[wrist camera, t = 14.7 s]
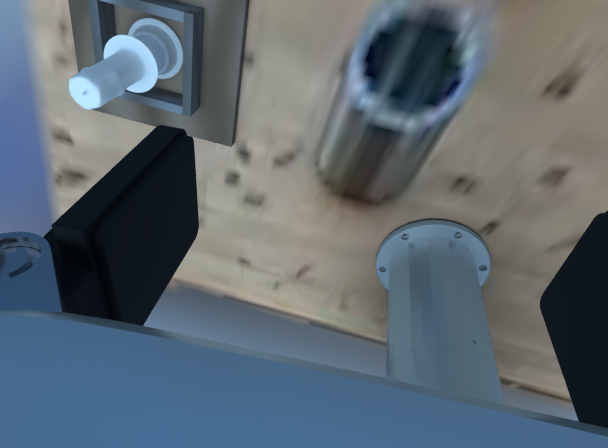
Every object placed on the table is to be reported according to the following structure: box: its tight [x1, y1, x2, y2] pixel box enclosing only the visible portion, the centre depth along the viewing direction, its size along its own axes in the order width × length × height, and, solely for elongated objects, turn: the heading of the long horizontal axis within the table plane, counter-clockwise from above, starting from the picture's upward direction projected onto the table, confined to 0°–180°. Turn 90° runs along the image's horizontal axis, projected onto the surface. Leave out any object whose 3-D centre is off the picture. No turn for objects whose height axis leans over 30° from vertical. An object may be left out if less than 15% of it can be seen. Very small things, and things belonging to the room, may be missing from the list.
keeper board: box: [68, 0, 249, 147], centre depth 38 cm, size 16×16×4 cm
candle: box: [69, 18, 183, 110], centre depth 34 cm, size 5×5×12 cm
